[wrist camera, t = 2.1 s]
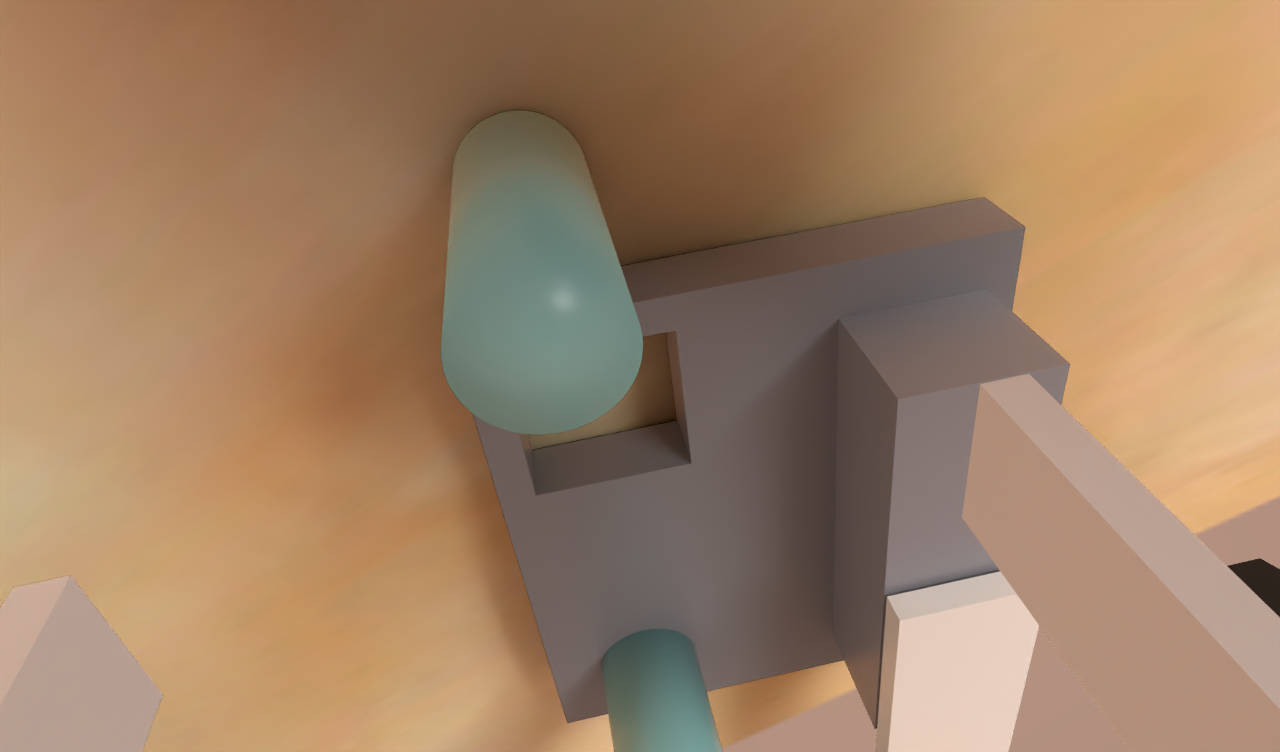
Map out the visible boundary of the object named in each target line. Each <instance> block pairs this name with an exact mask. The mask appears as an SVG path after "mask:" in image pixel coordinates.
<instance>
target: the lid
mask: <svg viewBox="0 0 1280 752" xmlns="http://www.w3.org/2000/svg"><path fill="white" fill-rule="evenodd" d="M1038 628H1039V624H1038V623H1037V622H1036V620H1035V619H1034V617H1033V616H1032V615H1031V613H1030V612H1029V611H1028V609H1027V608H1026V606H1025V605H1024V604H1023V602H1022V601H1021V599H1020V598H1019V597H1018V595H1017V594H1016V592H1015V591H1014V590H1013V588H1012V587H1011V585H1010V584H1009V583H1008V581H1007V580H1006V578H1005V577H1004V576H1003V574H1002V573H1001V571H1000V572H995V573H991V574H986V575H982V576H977V577H973V578H968V579H964V580H959V581H955V582H950V583H946V584H941V585H937V586H932V587H928V588H923V589H919V590H914V591H910V592H905V593H901V594H896V595H892V596H887V603H886V616H885V630H884V643H883V657H882V670H881V684H880V697H879V711H878V724H877V738H876V752H1008V751H1009V747H1010V743H1011V739H1012V735H1013V731H1014V726H1015V722H1016V718H1017V714H1018V710H1019V706H1020V702H1021V698H1022V694H1023V689H1024V685H1025V681H1026V677H1027V673H1028V669H1029V665H1030V661H1031V657H1032V653H1033V649H1034V644H1035V640H1036V636H1037V632H1038Z"/></svg>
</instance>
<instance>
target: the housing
mask: <svg viewBox="0 0 1280 752" xmlns="http://www.w3.org/2000/svg"><path fill="white" fill-rule="evenodd" d="M1024 233H1025V226H1024V225H1022V224H1021V223H1019V222H1018V221H1017V220H1015V219H1014V218H1013V217H1011V216H1010V215H1008V214H1007V213H1006V212H1004V211H1003V210H1002V209H1000V208H999V207H997V206H996V205H995V204H993V203H992V202H991V201H989V200H988V199H986V198H985V197H982V198H977V199H971V200H966V201H961V202H956V203H950V204H945V205H940V206H935V207H929V208H924V209H919V210H914V211H908V212H903V213H898V214H893V215H887V216H882V217H877V218H872V219H866V220H861V221H856V222H851V223H845V224H840V225H835V226H830V227H824V228H819V229H814V230H809V231H803V232H798V233H793V234H788V235H782V236H777V237H772V238H767V239H761V240H756V241H751V242H746V243H740V244H735V245H730V246H725V247H719V248H714V249H709V250H704V251H698V252H693V253H688V254H683V255H677V256H672V257H667V258H662V259H656V260H651V261H646V262H641V263H635V264H630V265H625V266H621V269H622V272H623V275H624V278H625V281H626V284H627V287H628V290H629V293H630V296H631V299H632V302H633V305H634V308H635V311H636V314H637V317H638V320H639V323H640V327H641V331H642V336H643V337H645V336H650V335H655V334H660V333H665V332H666V337H667V345H668V353H669V361H670V369H671V376H672V384H673V392H674V400H675V408H676V416H677V421H673V422H669V423H664V424H659V425H654V426H649V427H644V428H639V429H634V430H629V431H624V432H620V433H615V434H610V435H605V436H600V437H595V438H590V439H585V440H580V441H575V442H571V443H566V444H561V445H556V446H551V447H546V448H541V449H536V450H532V449H531V446H530V442H529V438H528V434H522V433H516V432H511V431H508V430H504V429H501V428H498V427H496V426H493V425H491V424H489V423H487V422H485V421H483V420H481V419H480V418H478V417H477V416H475V415H474V414H473V413H472V414H473V417H474V420H475V424H476V427H477V430H478V433H479V437H480V440H481V443H482V446H483V450H484V453H485V456H486V459H487V463H488V466H489V469H490V473H491V476H492V479H493V482H494V486H495V489H496V492H497V495H498V499H499V502H500V505H501V508H502V512H503V515H504V518H505V521H506V525H507V528H508V531H509V534H510V538H511V541H512V544H513V547H514V551H515V554H516V557H517V561H518V564H519V567H520V570H521V574H522V577H523V580H524V583H525V587H526V590H527V593H528V596H529V600H530V603H531V606H532V609H533V613H534V616H535V619H536V622H537V626H538V629H539V632H540V635H541V639H542V642H543V645H544V649H545V652H546V655H547V658H548V662H549V665H550V668H551V671H552V675H553V678H554V681H555V684H556V688H557V691H558V694H559V697H560V701H561V704H562V707H563V710H564V714H565V717H566V720H567V723H570V722H574V721H578V720H583V719H587V718H592V717H596V716H600V715H605V714H609V721H610V728H611V734H612V741H613V748H614V752H723V751H722V747H721V743H720V739H719V736H718V732H717V728H716V724H715V721H714V717H713V713H712V710H711V706H710V702H709V698H708V695H707V691H711V690H715V689H719V688H724V687H728V686H733V685H737V684H741V683H746V682H750V681H755V680H759V679H763V678H768V677H772V676H777V675H781V674H785V673H790V672H794V671H799V670H803V669H807V668H812V667H816V666H821V665H825V664H829V663H834V662H838V661H843V660H845V663H846V665H847V667H848V670H849V672H850V674H851V676H852V679H853V681H854V683H855V685H856V688H857V690H858V692H859V694H860V697H861V699H862V701H863V703H864V706H865V708H866V710H867V712H868V715H869V716H870V719H871V721H872V724H873V726H874V728H875V729H876V728H877V724H878V711H879V697H880V684H881V670H882V657H883V643H884V630H885V616H886V603H887V596H892V595H896V594H901V593H905V592H910V591H914V590H919V589H923V588H928V587H932V586H937V585H941V584H946V583H950V582H955V581H959V580H964V579H968V578H973V577H977V576H982V575H986V574H991V573H995V572H1000V570H999V569H998V567H997V566H996V564H995V563H994V562H993V560H992V559H991V557H990V556H989V555H988V553H987V552H986V550H985V549H984V548H983V546H982V545H981V543H980V542H979V541H978V539H977V538H976V536H975V535H974V534H973V532H972V531H971V530H970V528H969V527H968V525H967V524H966V523H965V521H964V520H963V518H962V512H963V505H964V498H965V490H966V483H967V476H968V468H969V461H970V454H971V447H972V439H973V432H974V425H975V417H976V410H977V403H978V396H979V388H980V384H983V383H988V382H992V381H997V380H1002V379H1007V378H1011V377H1016V376H1021V375H1026V374H1030V375H1031V376H1032V377H1033V378H1034V379H1035V380H1036V381H1037V382H1038V383H1039V384H1040V385H1041V386H1042V387H1043V388H1044V389H1045V390H1046V391H1047V392H1048V393H1049V394H1050V395H1051V396H1052V397H1053V398H1054V399H1055V400H1056V401H1057V402H1058V403H1059V404H1062V399H1063V394H1064V390H1065V385H1066V380H1067V376H1068V371H1069V366H1070V363H1068V362H1067V361H1066V360H1065V359H1064V358H1063V357H1062V356H1061V355H1060V354H1059V353H1057V352H1056V351H1055V350H1054V349H1053V348H1052V347H1051V346H1050V345H1049V344H1047V343H1046V342H1045V341H1044V340H1043V339H1042V338H1041V337H1040V336H1039V335H1037V334H1036V333H1035V332H1034V331H1033V330H1032V329H1031V328H1030V327H1029V326H1027V325H1026V324H1025V323H1024V322H1023V321H1022V320H1021V319H1020V318H1019V317H1018V316H1016V315H1015V314H1014V313H1013V312H1012V308H1013V302H1014V296H1015V289H1016V283H1017V277H1018V270H1019V264H1020V258H1021V252H1022V245H1023V239H1024Z"/></svg>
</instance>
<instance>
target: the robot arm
mask: <svg viewBox="0 0 1280 752" xmlns="http://www.w3.org/2000/svg"><path fill="white" fill-rule="evenodd" d="M962 518H963V520H964V521H965V523H966V524H967V525H968V527H969V528H970V530H971V531H972V532H973V534H974V535H975V536H976V538H977V539H978V541H979V542H980V543H981V545H982V546H983V548H984V549H985V550H986V552H987V553H988V555H989V556H990V557H991V559H992V560H993V562H994V563H995V564H996V566H997V567H998V569H999V570H1000V571H1001V573H1002V574H1003V576H1004V577H1005V578H1006V580H1007V581H1008V583H1009V584H1010V585H1011V587H1012V588H1013V590H1014V591H1015V592H1016V594H1017V595H1018V597H1019V598H1020V599H1021V601H1022V602H1023V604H1024V605H1025V606H1026V608H1027V609H1028V611H1029V612H1030V613H1031V615H1032V616H1033V617H1034V619H1035V620H1036V622H1037V623H1038V624H1039V626H1040V627H1041V629H1042V630H1043V631H1044V633H1045V634H1046V635H1047V637H1048V638H1049V640H1050V641H1051V643H1052V644H1053V645H1054V647H1055V648H1056V649H1057V651H1058V652H1059V654H1060V655H1061V656H1062V658H1063V659H1064V661H1065V662H1066V664H1067V665H1068V666H1069V668H1070V669H1071V671H1072V672H1073V673H1074V675H1075V676H1076V678H1077V679H1078V680H1079V682H1080V683H1081V685H1082V686H1083V687H1084V689H1085V690H1086V691H1087V693H1088V694H1089V696H1090V697H1091V699H1092V700H1093V701H1094V703H1095V704H1096V705H1097V706H1098V708H1099V710H1100V711H1101V712H1102V714H1103V715H1104V717H1105V718H1106V719H1107V721H1108V722H1109V724H1110V725H1111V726H1112V728H1113V729H1114V731H1115V732H1116V733H1117V735H1118V736H1119V737H1120V739H1121V740H1122V742H1123V743H1124V745H1125V746H1126V747H1127V749H1128V750H1129V751H1130V752H1280V569H1278V568H1276V567H1275V566H1273V565H1271V564H1269V563H1267V562H1266V561H1264V560H1262V559H1255V560H1251V561H1247V562H1242V563H1238V564H1234V565H1230V566H1226V565H1225V564H1224V563H1223V562H1222V561H1221V560H1220V559H1219V558H1218V557H1217V556H1216V555H1215V554H1214V553H1213V552H1212V551H1211V550H1210V549H1209V548H1208V547H1207V546H1206V545H1205V544H1204V543H1203V542H1202V541H1201V540H1199V538H1198V537H1196V536H1195V535H1194V534H1193V533H1192V532H1191V531H1190V530H1189V529H1188V528H1187V527H1186V526H1185V525H1184V524H1183V523H1182V522H1181V521H1180V520H1179V519H1178V518H1177V517H1176V516H1175V515H1174V514H1173V513H1172V512H1171V511H1170V510H1169V509H1168V508H1167V507H1166V506H1165V505H1164V504H1162V503H1161V502H1160V501H1159V500H1158V499H1157V498H1156V497H1155V496H1154V495H1153V494H1152V493H1151V492H1150V491H1149V490H1148V489H1147V488H1146V487H1145V486H1144V485H1143V484H1142V483H1141V482H1140V481H1139V480H1138V479H1137V478H1136V477H1135V476H1134V475H1133V474H1132V473H1131V472H1130V471H1129V470H1127V469H1126V468H1125V467H1124V466H1123V465H1122V464H1121V463H1120V462H1119V461H1118V460H1117V459H1116V458H1115V457H1114V456H1113V455H1112V454H1111V453H1110V452H1109V451H1108V450H1107V449H1106V448H1105V447H1104V446H1103V445H1102V444H1101V443H1100V442H1099V441H1098V440H1097V439H1096V438H1095V437H1093V436H1092V435H1091V434H1090V433H1089V432H1088V431H1087V430H1086V429H1085V428H1084V427H1083V426H1082V425H1081V424H1080V423H1079V422H1078V421H1077V420H1076V419H1075V418H1074V417H1073V416H1072V415H1071V414H1070V413H1069V412H1068V411H1067V410H1066V409H1065V408H1064V407H1063V406H1062V405H1061V404H1059V403H1058V402H1057V401H1056V400H1055V399H1054V398H1053V397H1052V396H1051V395H1050V394H1049V393H1048V392H1047V391H1046V390H1045V389H1044V388H1043V387H1042V386H1041V385H1040V384H1039V383H1038V382H1037V381H1036V380H1035V379H1034V378H1033V377H1032V376H1031V375H1030V374H1026V375H1021V376H1016V377H1011V378H1007V379H1002V380H997V381H992V382H988V383H983V384H980V388H979V396H978V403H977V410H976V417H975V425H974V432H973V439H972V447H971V454H970V461H969V468H968V476H967V483H966V490H965V498H964V505H963V512H962ZM162 696H163V694H162V693H161V691H160V690H159V689H158V687H157V686H156V685H155V684H154V682H153V681H152V680H151V678H150V677H149V676H148V674H147V673H146V672H145V671H144V669H143V668H142V667H141V665H140V664H139V663H138V662H137V660H136V659H135V658H134V656H133V655H132V654H131V652H130V651H129V650H128V649H127V647H126V646H125V645H124V643H123V642H122V641H121V639H120V638H119V637H118V636H117V634H116V633H115V632H114V630H113V629H112V628H111V627H110V625H109V624H108V623H107V621H106V620H105V619H104V617H103V616H102V615H101V614H100V612H99V611H98V610H97V608H96V607H95V606H94V604H93V603H92V602H91V601H90V599H89V598H88V597H87V595H86V594H85V593H84V592H83V590H82V589H81V588H80V586H79V585H78V584H77V582H76V581H75V580H74V579H73V577H72V576H71V575H70V576H65V577H60V578H56V579H51V580H46V581H41V582H37V583H32V584H27V585H22V586H18V587H13V589H12V590H11V592H10V594H9V595H8V597H7V599H6V600H5V602H4V604H3V605H2V607H1V609H0V752H143V749H144V746H145V743H146V740H147V738H148V735H149V732H150V729H151V726H152V724H153V721H154V718H155V715H156V713H157V710H158V707H159V704H160V701H161V699H162Z"/></svg>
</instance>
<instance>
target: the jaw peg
mask: <svg viewBox="0 0 1280 752" xmlns="http://www.w3.org/2000/svg"><path fill="white" fill-rule="evenodd" d="M642 355H643V336H642V331H641V327H640V323H639V320H638V317H637V314H636V311H635V308H634V305H633V302H632V299H631V296H630V293H629V290H628V287H627V284H626V281H625V278H624V275H623V272H622V269H621V266H620V263H619V260H618V257H617V253H616V250H615V247H614V244H613V241H612V238H611V235H610V232H609V229H608V226H607V223H606V220H605V217H604V214H603V211H602V208H601V205H600V202H599V199H598V196H597V193H596V190H595V187H594V184H593V181H592V178H591V175H590V172H589V169H588V166H587V163H586V160H585V157H584V154H583V152H582V149H581V147H580V146H579V144H578V142H577V141H576V139H575V138H574V137H573V135H572V134H571V133H570V132H569V131H568V130H567V129H566V128H565V127H564V126H562V125H561V124H560V123H558V122H557V121H555V120H553V119H552V118H550V117H547V116H545V115H543V114H539V113H536V112H531V111H522V110H514V111H506V112H502V113H498V114H495V115H493V116H490V117H488V118H486V119H485V120H483V121H481V122H480V123H478V124H477V125H476V126H474V127H473V128H472V129H471V130H470V131H469V132H468V133H467V135H466V136H465V137H464V139H463V140H462V142H461V144H460V146H459V147H458V150H457V152H456V155H455V159H454V163H453V174H452V189H451V205H450V220H449V235H448V250H447V265H446V280H445V295H444V310H443V326H442V341H441V362H442V367H443V371H444V375H445V378H446V380H447V382H448V385H449V387H450V388H451V390H452V392H453V393H454V395H455V396H456V397H457V399H458V400H459V401H460V402H461V404H463V405H464V406H465V407H466V408H467V409H468V410H469V411H470V412H471V413H473V414H474V415H475V416H477V417H478V418H480V419H481V420H483V421H485V422H487V423H489V424H491V425H493V426H496V427H498V428H501V429H504V430H508V431H511V432H516V433H522V434H533V435H543V434H554V433H561V432H565V431H569V430H573V429H576V428H579V427H581V426H584V425H586V424H588V423H590V422H592V421H594V420H596V419H598V418H599V417H601V416H603V415H604V414H606V413H607V412H608V411H609V410H611V409H612V408H613V407H614V406H616V404H617V403H618V402H619V401H620V400H621V399H622V398H623V397H624V396H625V394H626V393H627V392H628V390H629V389H630V388H631V386H632V384H633V382H634V381H635V379H636V376H637V374H638V371H639V369H640V365H641V361H642Z"/></svg>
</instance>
